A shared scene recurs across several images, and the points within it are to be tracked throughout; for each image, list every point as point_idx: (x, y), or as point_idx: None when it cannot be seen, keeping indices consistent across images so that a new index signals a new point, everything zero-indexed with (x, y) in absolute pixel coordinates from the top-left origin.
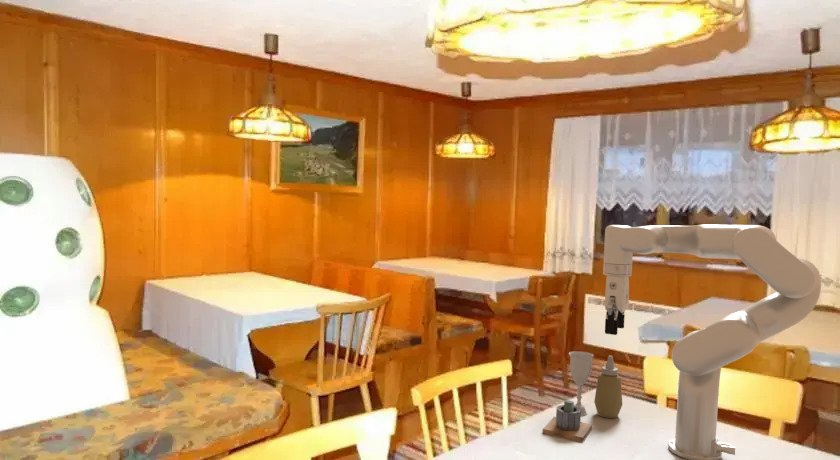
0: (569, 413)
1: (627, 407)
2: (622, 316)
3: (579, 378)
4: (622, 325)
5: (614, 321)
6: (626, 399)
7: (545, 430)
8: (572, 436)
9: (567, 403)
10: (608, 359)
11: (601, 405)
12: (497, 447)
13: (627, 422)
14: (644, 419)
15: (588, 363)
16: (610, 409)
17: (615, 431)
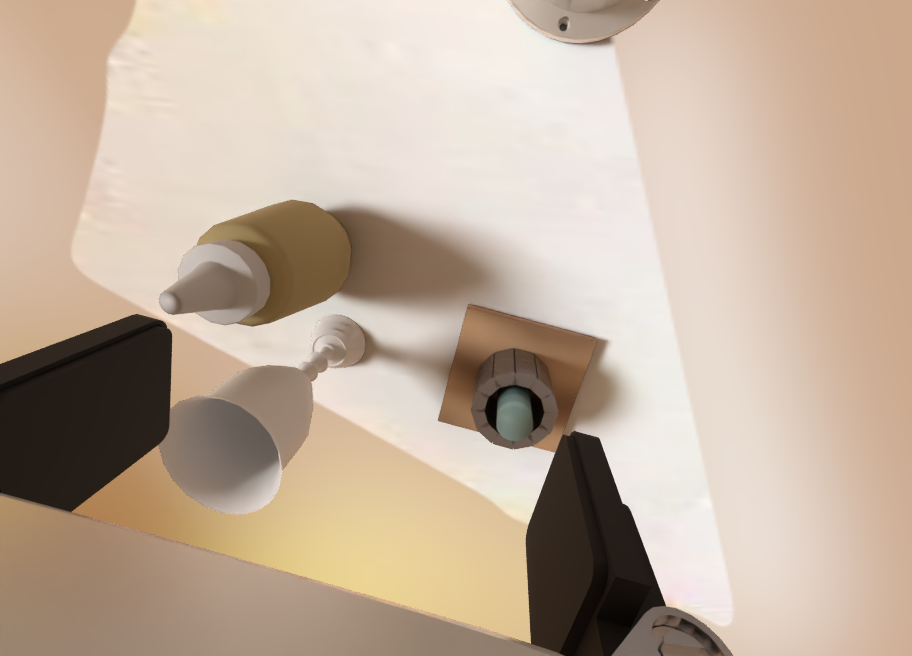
0: (557, 410)
1: (203, 168)
2: (23, 410)
3: (312, 403)
4: (147, 344)
5: (625, 604)
6: (114, 166)
7: (557, 443)
8: (584, 370)
9: (531, 430)
10: (195, 309)
11: (343, 281)
12: (687, 547)
13: (363, 180)
14: (305, 111)
15: (270, 404)
16: (349, 247)
17: (467, 229)
